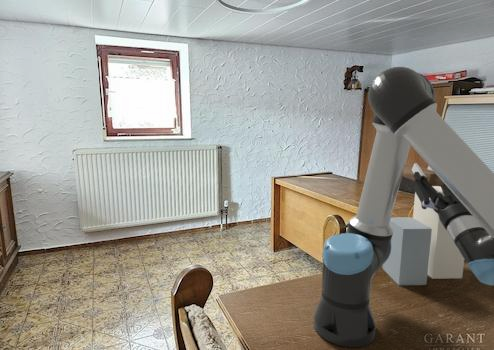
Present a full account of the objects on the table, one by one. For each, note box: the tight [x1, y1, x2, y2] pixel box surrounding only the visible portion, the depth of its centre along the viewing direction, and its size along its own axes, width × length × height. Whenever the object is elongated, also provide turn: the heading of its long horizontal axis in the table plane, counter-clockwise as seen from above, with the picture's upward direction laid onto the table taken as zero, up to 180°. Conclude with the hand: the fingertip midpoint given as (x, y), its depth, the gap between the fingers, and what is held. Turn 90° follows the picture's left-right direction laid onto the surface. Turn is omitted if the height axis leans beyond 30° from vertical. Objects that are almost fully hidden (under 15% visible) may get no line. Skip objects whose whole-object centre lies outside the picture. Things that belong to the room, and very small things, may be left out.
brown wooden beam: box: [402, 163, 444, 186], centre depth 100 cm, size 9×22×4 cm, turn 0°
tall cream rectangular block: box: [412, 186, 465, 280], centre depth 111 cm, size 10×15×30 cm, turn 1°
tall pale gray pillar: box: [381, 216, 432, 286], centre depth 106 cm, size 9×12×19 cm
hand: (421, 166), depth 97 cm, fingers closed on brown wooden beam, 4 cm apart
